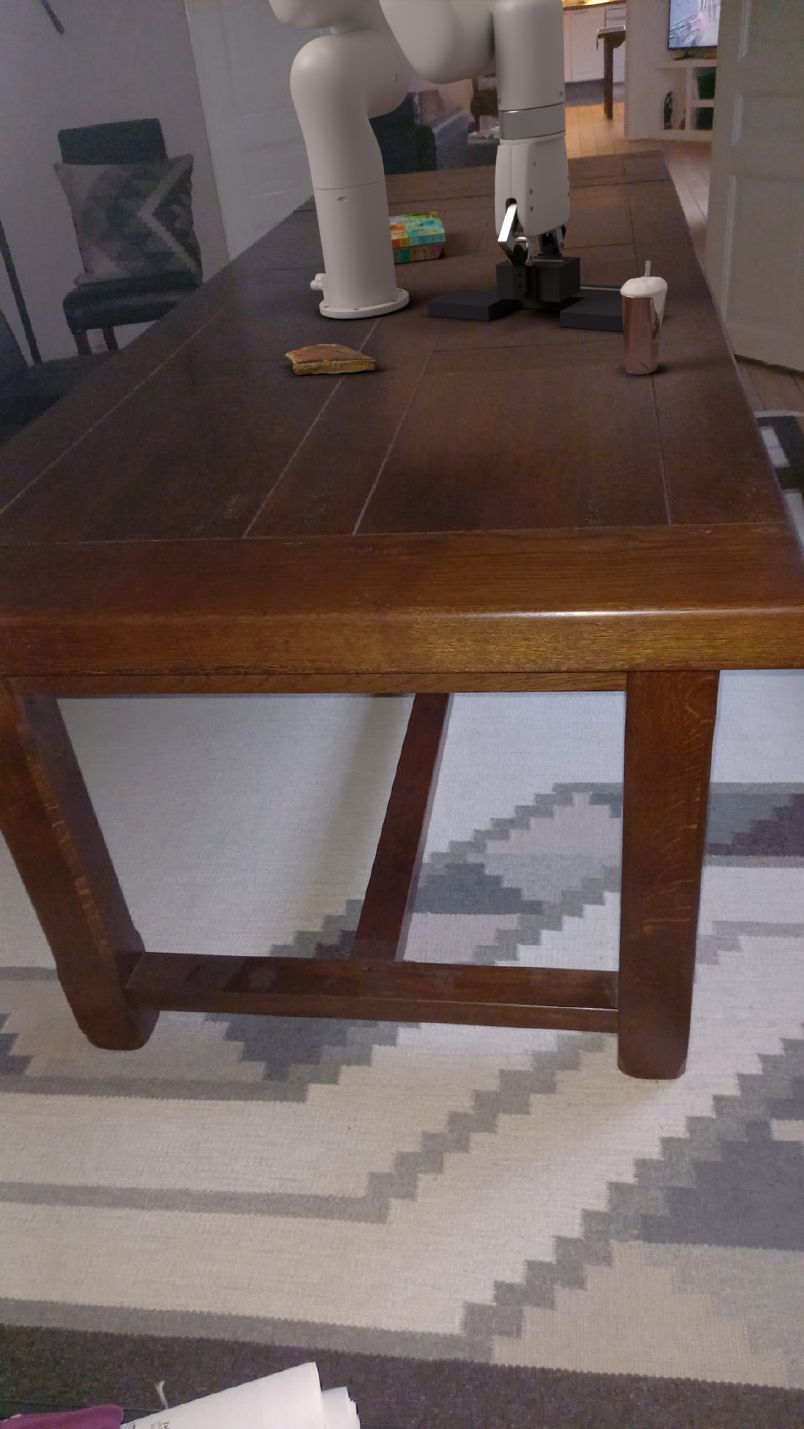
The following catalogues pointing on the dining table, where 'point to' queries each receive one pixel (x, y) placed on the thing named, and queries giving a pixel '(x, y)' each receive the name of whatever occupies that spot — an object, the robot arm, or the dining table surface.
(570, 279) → the pad
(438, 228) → the puzzle game
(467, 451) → the dining table surface
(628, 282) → the milkshake
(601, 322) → the socket pad
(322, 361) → the toasted sandwich half
